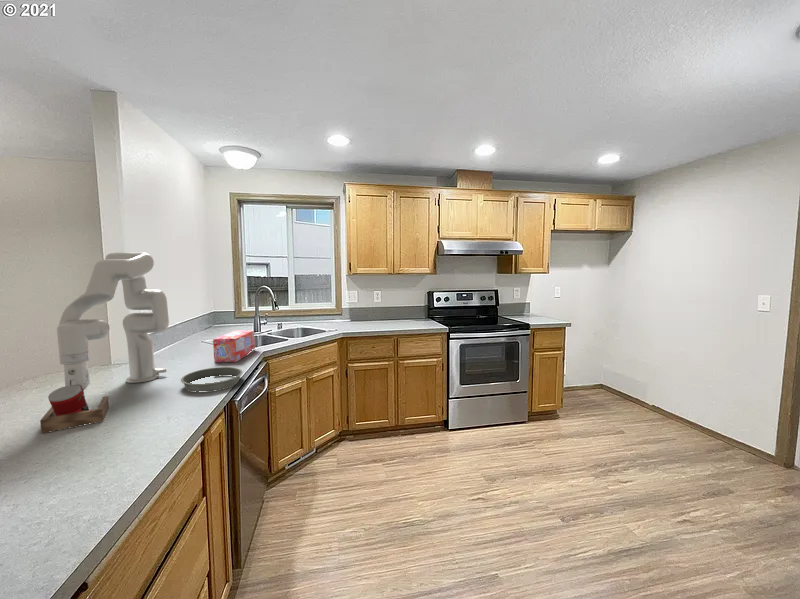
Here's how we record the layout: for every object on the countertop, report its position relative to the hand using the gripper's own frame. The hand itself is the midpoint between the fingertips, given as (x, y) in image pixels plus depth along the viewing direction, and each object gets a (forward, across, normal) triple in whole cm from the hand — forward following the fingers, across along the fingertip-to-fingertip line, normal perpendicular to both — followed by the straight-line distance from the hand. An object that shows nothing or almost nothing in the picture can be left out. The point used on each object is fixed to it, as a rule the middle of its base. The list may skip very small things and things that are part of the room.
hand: (79, 407), depth 121 cm
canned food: (+2, -4, 0) cm, 5 cm away
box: (+2, +56, -59) cm, 81 cm away
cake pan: (+3, +10, -43) cm, 45 cm away
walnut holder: (+3, -4, 0) cm, 5 cm away
